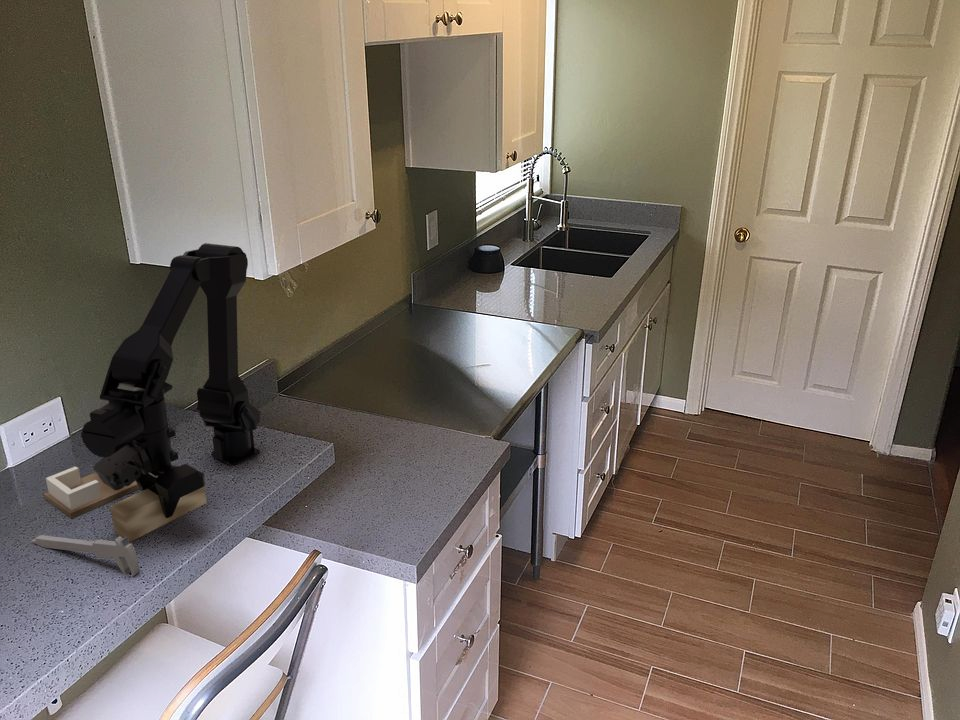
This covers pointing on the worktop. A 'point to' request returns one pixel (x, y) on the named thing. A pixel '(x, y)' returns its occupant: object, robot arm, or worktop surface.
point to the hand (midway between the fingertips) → (161, 511)
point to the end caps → (75, 497)
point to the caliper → (97, 549)
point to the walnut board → (106, 497)
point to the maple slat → (149, 512)
